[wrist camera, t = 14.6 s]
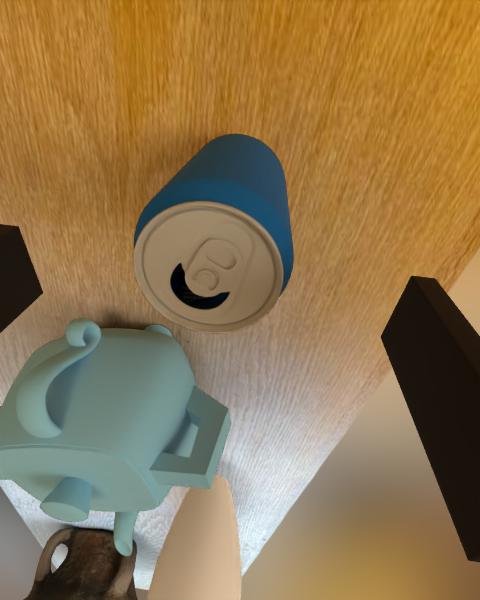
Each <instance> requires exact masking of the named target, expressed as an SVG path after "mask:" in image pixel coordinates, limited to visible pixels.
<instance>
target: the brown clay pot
mask: <svg viewBox="0 0 480 600" xmlns="http://www.w3.org/2000/svg"><path fill="white" fill-rule="evenodd" d="M61 543H62V544H65V545H66V546H67V547H68V553H67V556H66V558H65V560H64V561H63V562H62V564H61V565H60V567H59V568H58V569H57V570H56V571H55V572H54V573H53V574H52V572H51V558H52V555H53V553H54V551H55V549H56V547H57V546H58V545H59V544H61ZM136 554H137V547H136V543H135V541H134V540H133V542H132V553H131V555H130V556H124V555H122V554H121V553H120V552H119V551H118V550H117V549H116V546H115V544H114V533H110V532H104V531H99V530H85V529H78V528H64V529H60V530H58V531H57V532H55V533H54V534H53V535H52V536H51V537H50V538H49V540H48V541H47V543H46V545H45V547H44V549H43V552H42V554H41V557H40V560H39V563H38V567H37V571H36V576H35V580H34V584H33V587H32V590H31V592H30V594H29V595H28V597H27V598H25V599H24V600H137V596H136V592H135V585H134V576H133V572H134V568H135V561H136Z"/></svg>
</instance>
